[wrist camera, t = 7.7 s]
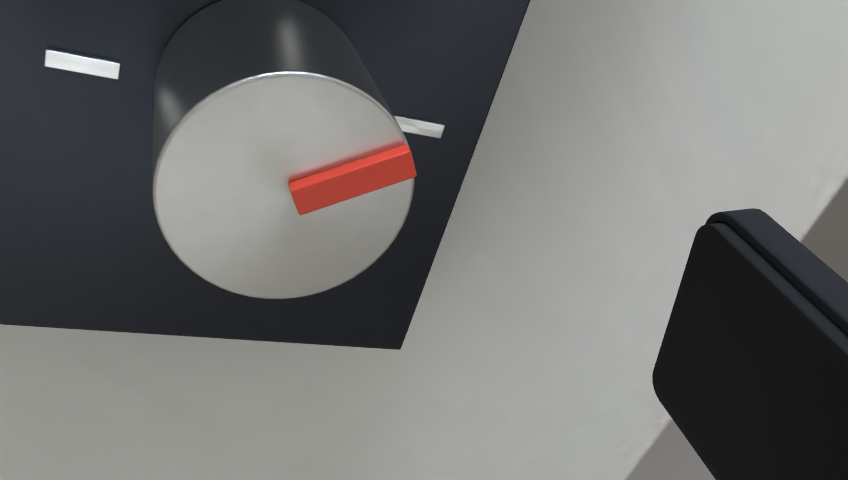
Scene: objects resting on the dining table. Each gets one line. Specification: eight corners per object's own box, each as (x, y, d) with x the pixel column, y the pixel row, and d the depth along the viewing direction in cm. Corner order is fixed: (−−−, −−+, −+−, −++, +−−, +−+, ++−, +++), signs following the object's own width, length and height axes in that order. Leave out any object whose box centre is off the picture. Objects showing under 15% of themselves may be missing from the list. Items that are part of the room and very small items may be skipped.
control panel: (27, -371, 14) (-1, -390, 12) (536, -178, 19) (595, -162, 16) (-6, 253, 21) (-29, 327, 18) (378, 290, 25) (402, 354, 23)
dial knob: (201, 212, 18) (212, 341, 15) (116, 30, 16) (102, 132, 12) (384, 151, 19) (441, 262, 15) (332, -35, 16) (386, 42, 12)
